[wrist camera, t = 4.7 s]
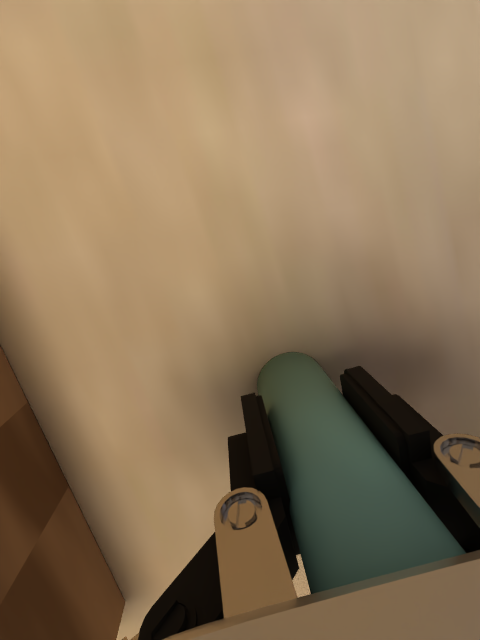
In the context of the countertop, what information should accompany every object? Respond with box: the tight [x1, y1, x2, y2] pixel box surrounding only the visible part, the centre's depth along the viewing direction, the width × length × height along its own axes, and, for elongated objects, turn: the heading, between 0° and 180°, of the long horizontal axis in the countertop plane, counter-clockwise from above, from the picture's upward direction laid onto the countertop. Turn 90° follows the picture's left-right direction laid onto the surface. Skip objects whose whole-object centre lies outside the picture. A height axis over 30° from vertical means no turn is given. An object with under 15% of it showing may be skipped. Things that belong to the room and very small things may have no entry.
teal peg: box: [257, 352, 466, 594], centre depth 9 cm, size 3×3×10 cm
